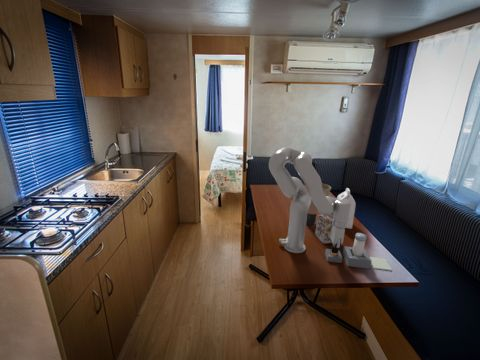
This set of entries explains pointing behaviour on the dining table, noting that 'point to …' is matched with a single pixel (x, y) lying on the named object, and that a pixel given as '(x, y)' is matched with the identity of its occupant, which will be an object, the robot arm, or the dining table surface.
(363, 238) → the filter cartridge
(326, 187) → the plant pot
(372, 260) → the mat
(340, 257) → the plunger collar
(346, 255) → the grey square holder
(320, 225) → the decorative jar
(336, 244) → the robot arm
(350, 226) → the milk
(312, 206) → the travel mug
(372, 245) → the dining table surface
